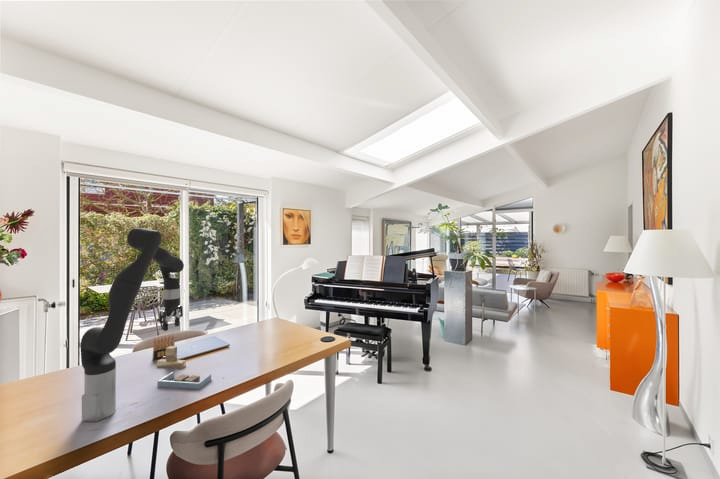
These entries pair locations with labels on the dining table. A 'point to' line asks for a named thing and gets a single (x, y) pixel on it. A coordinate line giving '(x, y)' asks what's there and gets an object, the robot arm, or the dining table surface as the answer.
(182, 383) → the tray
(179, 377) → the block
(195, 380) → the block
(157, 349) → the ammunition clip
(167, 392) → the dining table surface
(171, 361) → the wooden base with post
